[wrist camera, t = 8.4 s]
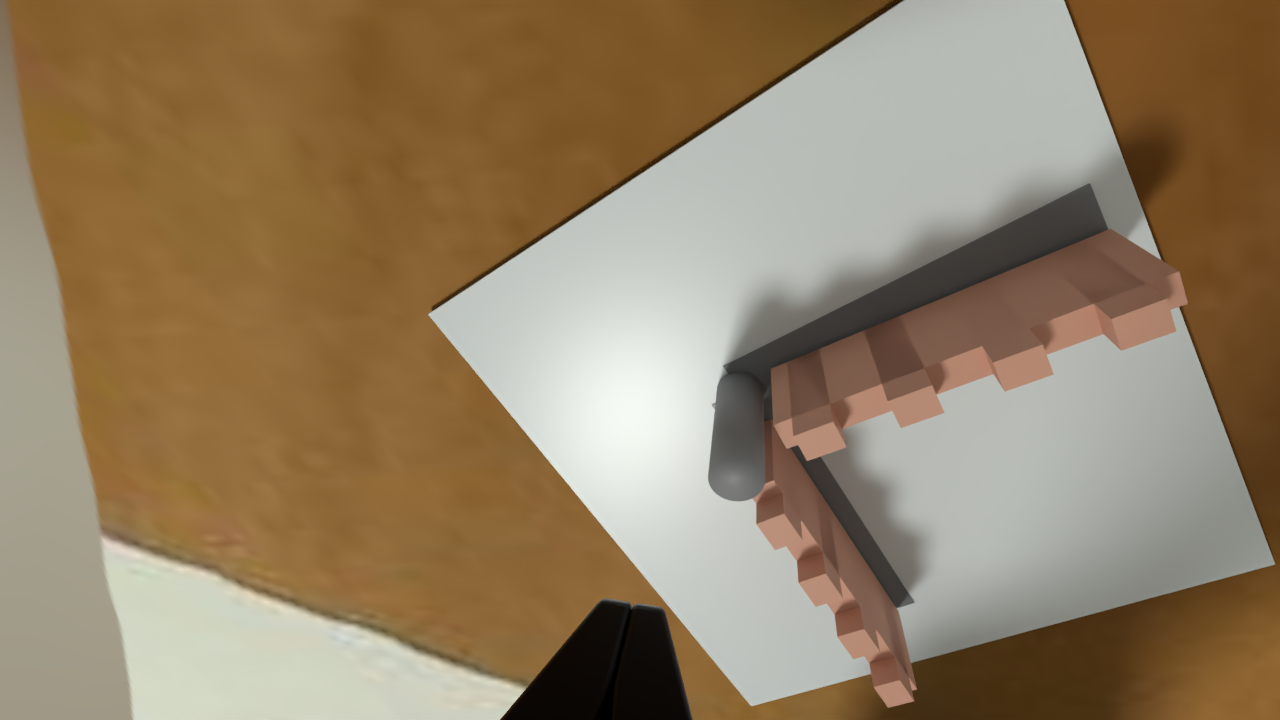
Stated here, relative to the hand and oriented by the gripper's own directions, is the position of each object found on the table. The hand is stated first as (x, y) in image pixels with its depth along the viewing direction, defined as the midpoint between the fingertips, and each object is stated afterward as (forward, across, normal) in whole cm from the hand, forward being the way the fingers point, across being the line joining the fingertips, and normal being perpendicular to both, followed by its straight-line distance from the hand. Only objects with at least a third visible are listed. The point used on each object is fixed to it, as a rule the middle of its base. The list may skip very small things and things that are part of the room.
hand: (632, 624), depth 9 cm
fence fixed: (+12, -4, +7) cm, 14 cm away
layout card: (+12, -5, +4) cm, 13 cm away
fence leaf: (+11, -6, 0) cm, 13 cm away
